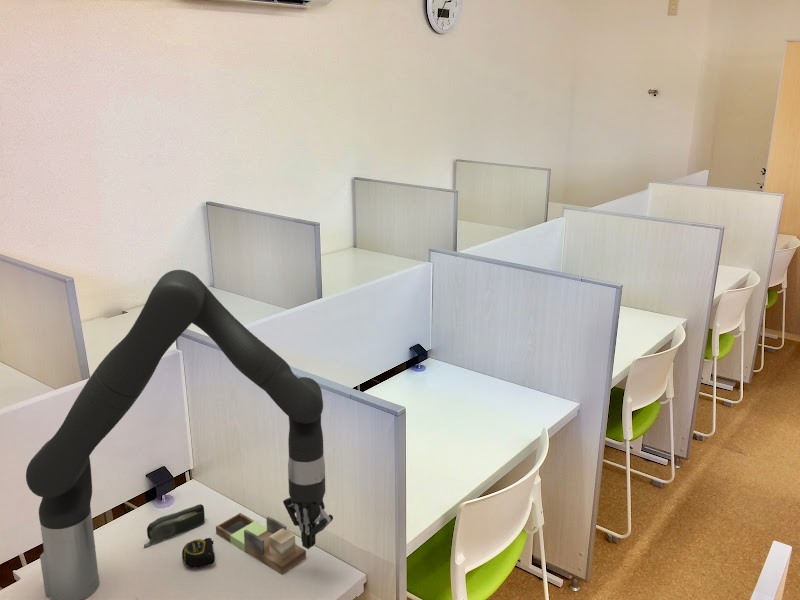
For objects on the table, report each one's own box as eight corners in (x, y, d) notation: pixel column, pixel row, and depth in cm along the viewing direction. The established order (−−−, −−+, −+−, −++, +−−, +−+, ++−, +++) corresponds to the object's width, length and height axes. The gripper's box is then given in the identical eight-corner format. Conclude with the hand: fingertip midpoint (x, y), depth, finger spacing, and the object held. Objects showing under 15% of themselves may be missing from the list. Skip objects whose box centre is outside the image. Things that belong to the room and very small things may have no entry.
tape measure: (215, 568, 148) (215, 553, 147) (182, 574, 146) (181, 559, 145) (214, 549, 154) (213, 535, 153) (182, 554, 152) (181, 540, 151)
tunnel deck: (306, 558, 152) (305, 536, 150) (282, 574, 146) (281, 552, 145) (240, 520, 165) (239, 500, 163) (216, 533, 159) (215, 513, 158)
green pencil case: (200, 501, 164) (139, 524, 154) (206, 506, 162) (145, 530, 152) (201, 519, 165) (140, 543, 155) (207, 524, 163) (146, 549, 153)
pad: (269, 536, 159) (268, 529, 158) (244, 551, 153) (244, 544, 153) (254, 528, 162) (254, 521, 161) (230, 542, 156) (230, 535, 156)
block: (295, 550, 151) (295, 535, 150) (281, 559, 148) (281, 543, 147) (282, 543, 153) (282, 528, 152) (269, 552, 150) (268, 536, 149)
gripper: (271, 470, 140) (274, 542, 145) (316, 492, 133) (318, 567, 138) (297, 456, 146) (299, 526, 151) (342, 476, 138) (343, 549, 143)
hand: (308, 545), depth 144 cm, fingers closed
